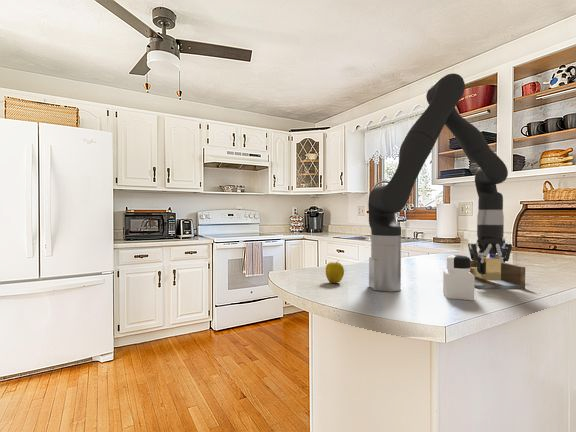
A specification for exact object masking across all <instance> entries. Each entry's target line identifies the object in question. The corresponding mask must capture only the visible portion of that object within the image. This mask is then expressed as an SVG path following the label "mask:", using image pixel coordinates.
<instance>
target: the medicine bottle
mask: <svg viewBox="0 0 576 432" xmlns="http://www.w3.org/2000/svg"><path fill="white" fill-rule="evenodd" d="M470 260H471V257H468V256H466V255H461V254H460V255H459V254H451V255H449V256H447V257H446V269H443V272H442V274H443V275H442V277H443V279H442V293H443V296H445V298H446V299H450V300H461V301H462V300H463V301H475V288H474V285H475V276H474V275H473V274H472V273H470V272H469V271H470Z"/></svg>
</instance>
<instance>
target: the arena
mask: <svg viewBox="0 0 576 432" xmlns="http://www.w3.org/2000/svg"><path fill="white" fill-rule="evenodd" d="M470 267H477V262H476V261H474V260H471V259H470ZM474 289H479V290H480V289H481V290H482V289H484V290H485V289H486V290H487V289H489V290H491V289H492V290H493V289H494V290H495V289H496V290H499V289H504V290H505V289H507V290H508V289H509V290H511V289H516V290H517V289H518V290H519V289H521V290H523V289H524V290H525V289H526V267H525V266H522V265H517V264H512V263H508V262H505V263H504V262H503V263H502V273H501V280H485V279H482V278H478V277H475V285H474Z"/></svg>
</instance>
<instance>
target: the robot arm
mask: <svg viewBox="0 0 576 432" xmlns="http://www.w3.org/2000/svg"><path fill="white" fill-rule="evenodd" d="M465 90H466V83H465V80H464V78H463V76H462V75H460V74H457V73H448V74H446V75H443V76H442V77H440V78H439V79H437V81H436V82H435V83H434V84H433V85H431V86H430V87H429V88H428V90H427V91H426V96H425V97H426V101H427V103H428V106H427V108H426V109H425V110H424V111H423V112H422V114H421V115H420V116H419V117H418V118H417V120H416V121H415V122H414V123H413V125H412V126H411V127H410V129H409V130H408V132H407V133H406V136H405V137H404V139H403V141H402V143H401V145H400V148H399V153H398V164H397V168H396V170H395V172H394V173H393V175H392V177H391V179H390V180H389V182H387V184H383V185H377V186H375V187H374V188H373V189H372V190H371V191H370V193H369V196H368V203H367V205H368V206H367V207H368V225H369V227H370V230H371V231H370V232H371V238H370V240H371V242H370V243H371V244H370V257H369V258H368V287H370V289H372V290H374V291H380V292H399V291H401V290H402V289H401V287H402V281H401V280H402V278H401V277H402V227H401V225H400V224H398V223H397V221H396V220H395V214H397V213H400V212H401V211H402V210H403V209H404V208H405V206H406V205H407V203H408V200H409V198H410V195H411V193H412V190H413V188H414V186H415V183H416V180H417V179H418V176H419V174H420V173H421V170H422V169H423V167H424V165H425V163H426V161H427V159H428V158H429V156H430V154H431V152H432V151H433V148H434V147H435V144H436V142H437V140H438V139H439V136H440V134H441V132H442V130H443V129H444V127H445V126H446V128H447V129H448V130H449V131H450V132H451V134H452V135H453V136H454V138H455V139H456V141H457V142H458V143H459V146H460V147H461V149H462V150H463V151H462V152H464V154H465V156H466V158H467V160H468V161H470V162H471V163H473V164H474V163H475V164H477V166H478V168H477V170H476V171H475V174H474V183H475V189H476V194H477V196H478V201H477V203H478V207H477V209H478V211H477V215H476V216H477V217H476V219H477V220H476V222H477V223H476V227H477V228H476V236H477V240H476V241H475V242H468V243H467V246H468V250H469V251H468V252H469V256H470V260H474V261H476V262H477V272H478V273H479V274H484V265H485V264H484V261H485V258H488V257H489V255H490V254H491V253H492V256H493V257H494V258H500V259H501V273H502V263H503V262H505V263H506V262H509V260H510V256H511V252H512V248H513V244H512V243H507V242H505V243H504V242H503V240H502V238H504V234H505V233H504V230H505V229H504V228H505V227H504V222H505V218H504V197H503V194H502V193H501V192H498V188H497V185H499V184H502V183H503V182H505V181H506V180H507V178H508V174H509V170H508V167H507V165H506V163H505V162H504V160H502V159H501V158H500V156H498V155H497V154H496V153H495V152H494V150H492V149H491V147H490V145H489V143H488V142H487V141H486V138H485V137H484V135H483V133H482V132H481V131H480V129H478V128H477V127H476V126H475V125H473V124H472V123H471V122H469V121H468V120H466V119H465V118H464V117H462V116H461V115H460V113H459V112H458V110H457V109H456V106H457V104H458V103H459V102H460V100H461V99H462V97H463V95H464V94H465ZM501 247H502V253H501V250H500V249H501Z"/></svg>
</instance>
